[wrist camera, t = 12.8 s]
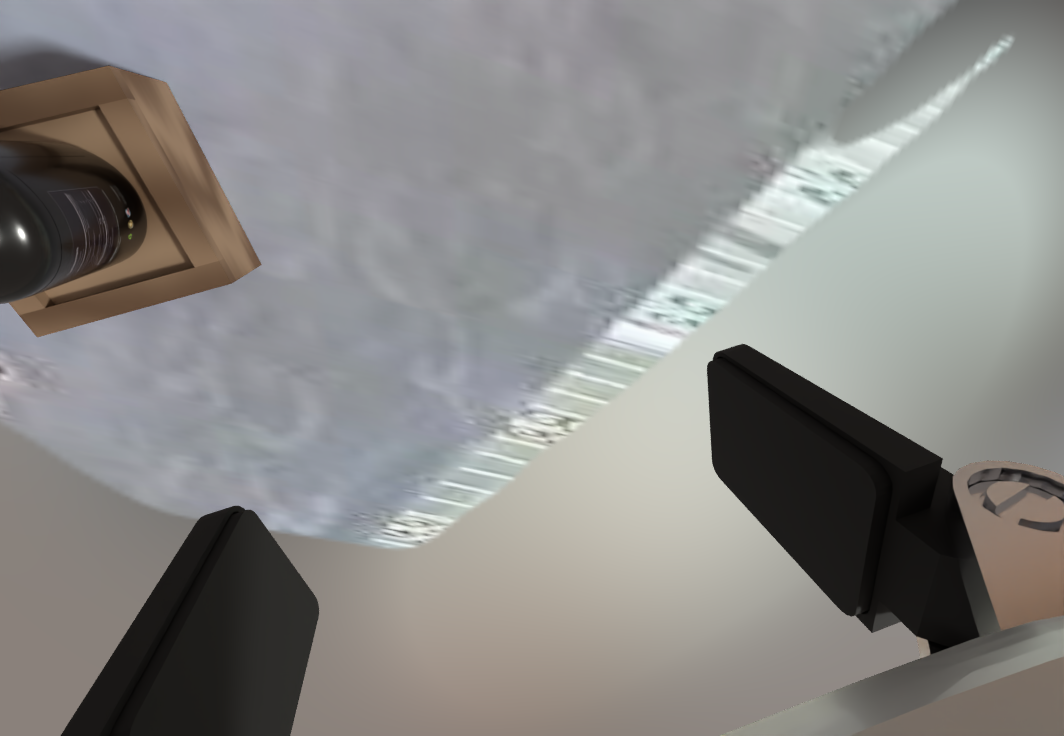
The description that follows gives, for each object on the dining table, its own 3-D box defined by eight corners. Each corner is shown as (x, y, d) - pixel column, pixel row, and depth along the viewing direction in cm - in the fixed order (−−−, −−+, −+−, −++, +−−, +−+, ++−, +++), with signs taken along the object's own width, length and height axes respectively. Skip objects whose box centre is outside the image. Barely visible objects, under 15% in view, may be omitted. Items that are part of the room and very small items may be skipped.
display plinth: (-33, 129, 27) (-140, 122, 22) (166, 82, 28) (108, 65, 23) (98, 309, 33) (37, 337, 28) (261, 264, 34) (231, 283, 29)
